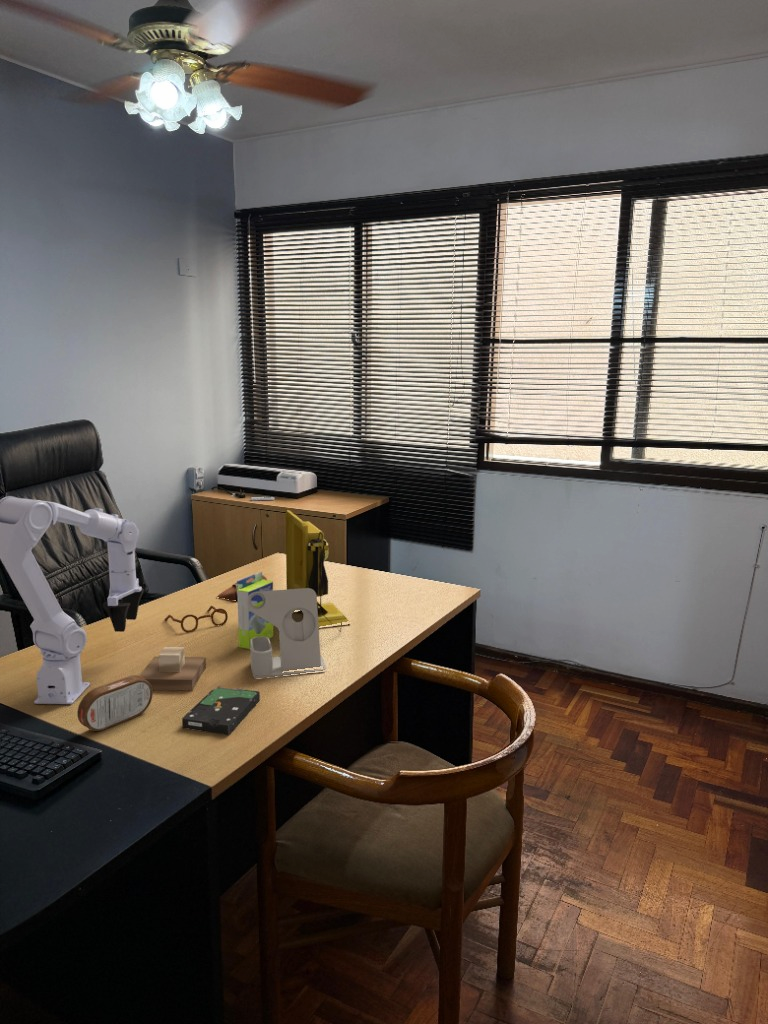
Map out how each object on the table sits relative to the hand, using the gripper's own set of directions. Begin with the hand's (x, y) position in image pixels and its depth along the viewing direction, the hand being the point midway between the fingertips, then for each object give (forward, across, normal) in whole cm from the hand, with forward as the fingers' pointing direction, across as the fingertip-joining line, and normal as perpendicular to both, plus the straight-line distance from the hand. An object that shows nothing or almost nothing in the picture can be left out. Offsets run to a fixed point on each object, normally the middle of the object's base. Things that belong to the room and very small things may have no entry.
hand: (125, 625), depth 165 cm
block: (+7, -8, -13) cm, 17 cm away
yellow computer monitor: (+10, +30, -43) cm, 53 cm away
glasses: (+10, +28, -9) cm, 31 cm away
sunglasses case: (+10, +54, -16) cm, 57 cm away
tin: (+10, -28, -8) cm, 31 cm away
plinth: (+9, -8, -13) cm, 18 cm away
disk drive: (+10, -24, -28) cm, 38 cm away
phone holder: (+10, -1, -38) cm, 39 cm away
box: (+10, +14, -28) cm, 33 cm away
